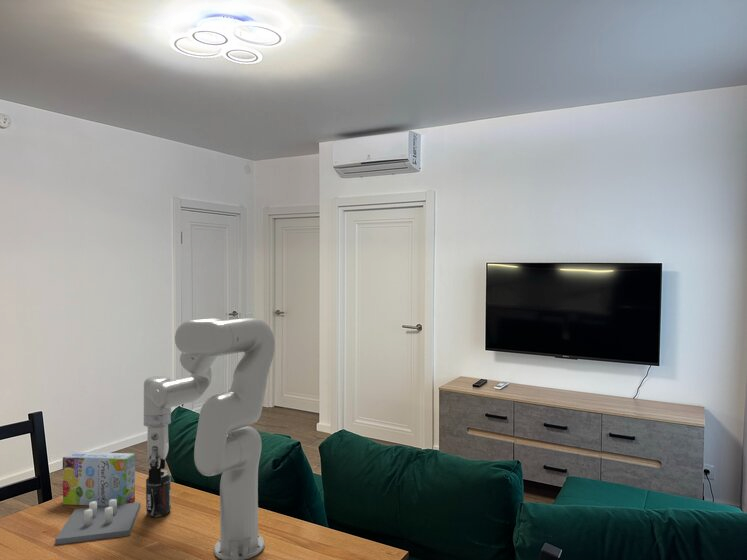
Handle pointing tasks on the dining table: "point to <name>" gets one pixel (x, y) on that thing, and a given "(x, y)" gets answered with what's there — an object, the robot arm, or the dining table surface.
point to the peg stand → (99, 522)
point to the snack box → (98, 478)
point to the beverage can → (158, 495)
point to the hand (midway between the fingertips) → (157, 475)
